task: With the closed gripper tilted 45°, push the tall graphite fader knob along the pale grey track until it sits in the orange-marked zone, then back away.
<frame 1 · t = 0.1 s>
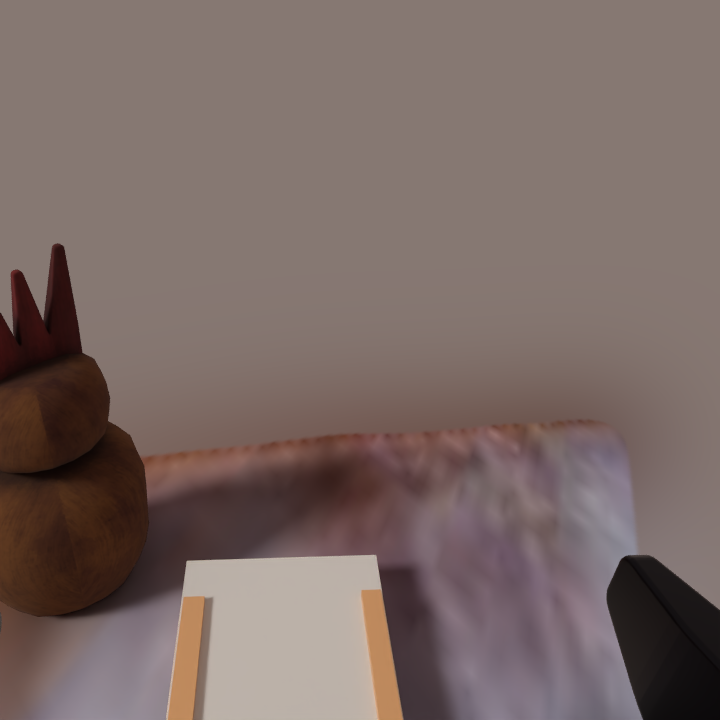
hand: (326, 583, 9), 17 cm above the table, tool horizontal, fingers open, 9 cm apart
wooden figurine: (74, 579, 28), on the table
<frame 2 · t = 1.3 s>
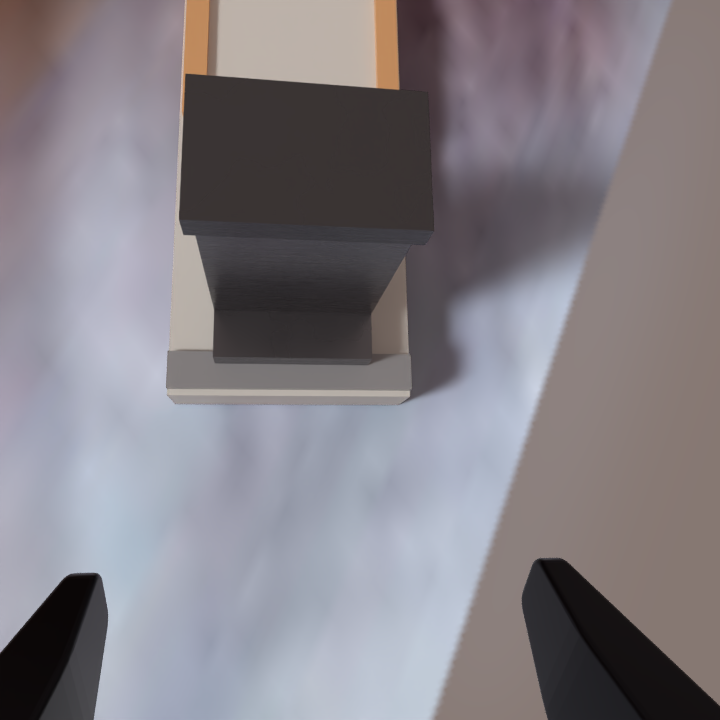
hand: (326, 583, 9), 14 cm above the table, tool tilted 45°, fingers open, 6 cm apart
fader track: (290, 175, 25), on the table
fader knob: (299, 228, 18), point 6 cm above the table, slide at 0.0 cm, touching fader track
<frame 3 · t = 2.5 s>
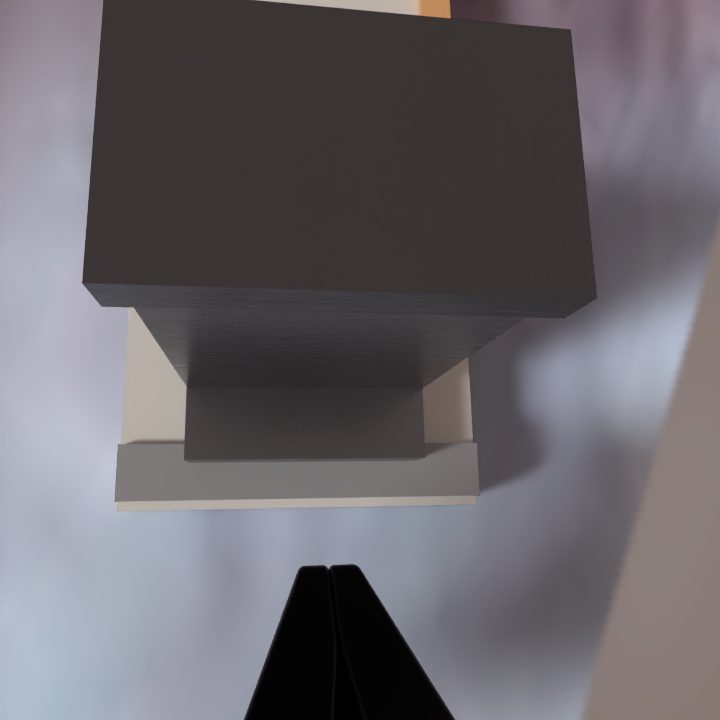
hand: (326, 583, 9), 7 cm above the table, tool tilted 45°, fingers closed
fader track: (299, 179, 18), on the table
fader knob: (320, 270, 11), point 6 cm above the table, slide at 0.0 cm, touching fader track
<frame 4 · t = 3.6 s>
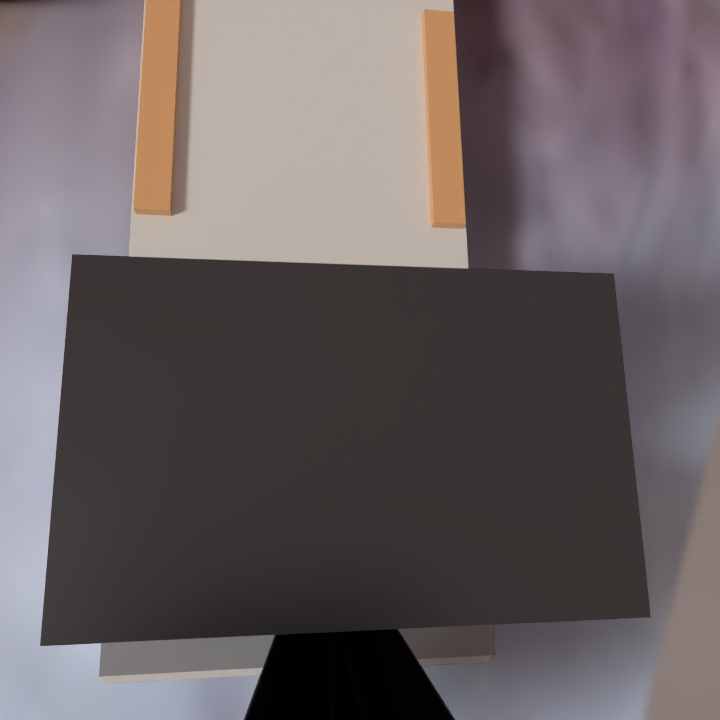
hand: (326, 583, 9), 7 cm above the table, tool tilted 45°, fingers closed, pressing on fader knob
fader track: (300, 288, 17), on the table
fader knob: (323, 463, 10), point 6 cm above the table, slide at 0.0 cm, touching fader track, gripper
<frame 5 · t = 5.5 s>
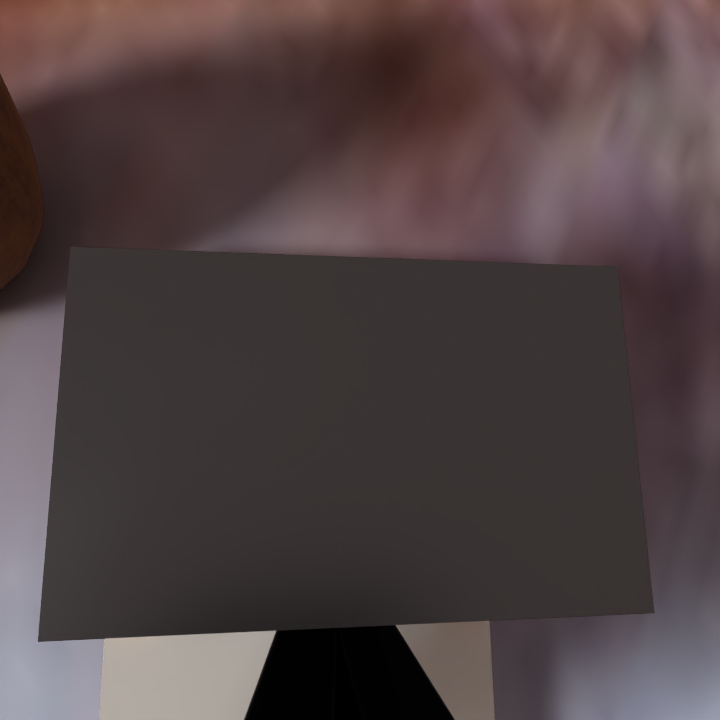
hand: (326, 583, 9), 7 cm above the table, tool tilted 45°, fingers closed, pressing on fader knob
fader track: (299, 652, 15), on the table
fader knob: (323, 459, 10), point 6 cm above the table, slide at 9.1 cm, touching gripper
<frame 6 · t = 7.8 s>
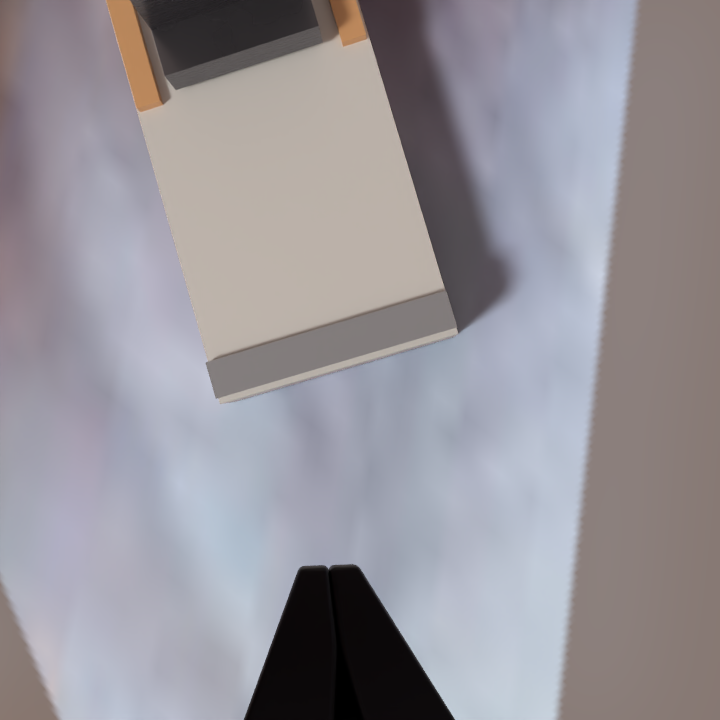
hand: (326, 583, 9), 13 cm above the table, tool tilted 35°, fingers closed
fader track: (272, 128, 23), on the table
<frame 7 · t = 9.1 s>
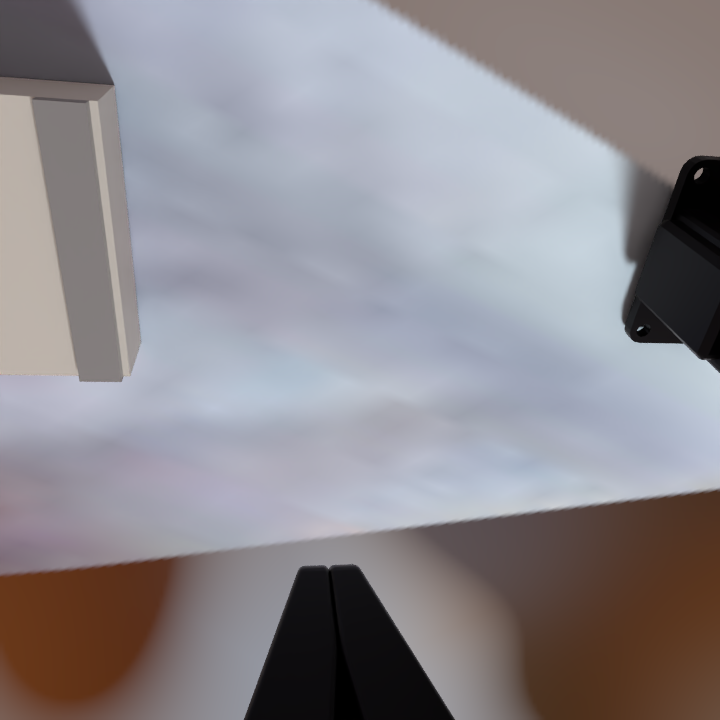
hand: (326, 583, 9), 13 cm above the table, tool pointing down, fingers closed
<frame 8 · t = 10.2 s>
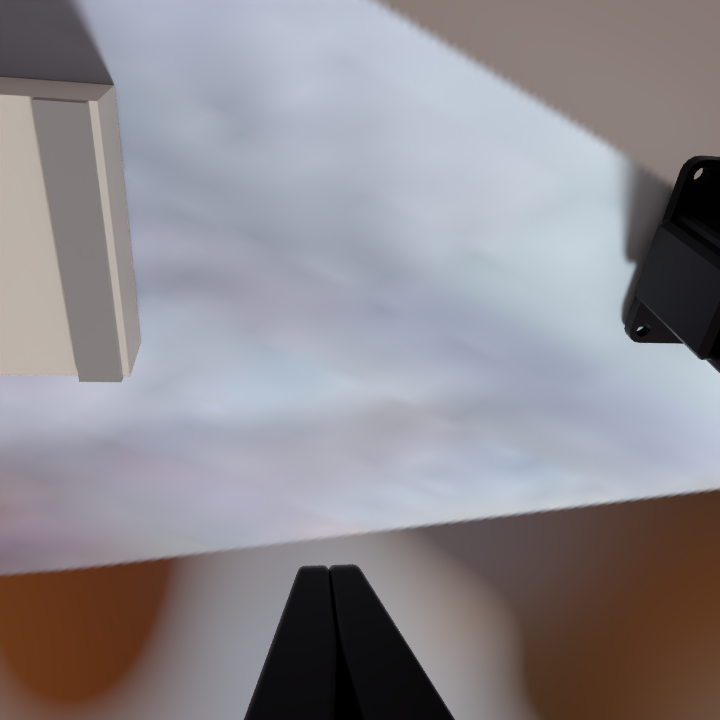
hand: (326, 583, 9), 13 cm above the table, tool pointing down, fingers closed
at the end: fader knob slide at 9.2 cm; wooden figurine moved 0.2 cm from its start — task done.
